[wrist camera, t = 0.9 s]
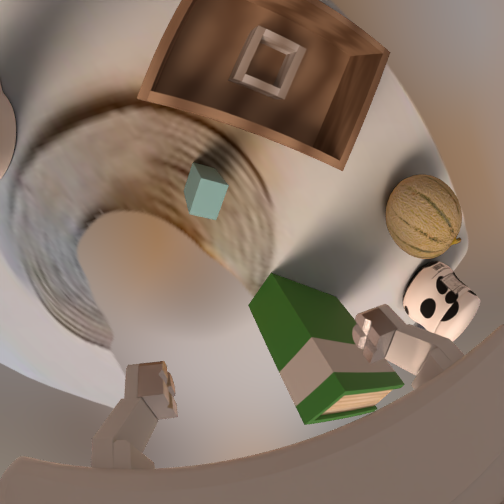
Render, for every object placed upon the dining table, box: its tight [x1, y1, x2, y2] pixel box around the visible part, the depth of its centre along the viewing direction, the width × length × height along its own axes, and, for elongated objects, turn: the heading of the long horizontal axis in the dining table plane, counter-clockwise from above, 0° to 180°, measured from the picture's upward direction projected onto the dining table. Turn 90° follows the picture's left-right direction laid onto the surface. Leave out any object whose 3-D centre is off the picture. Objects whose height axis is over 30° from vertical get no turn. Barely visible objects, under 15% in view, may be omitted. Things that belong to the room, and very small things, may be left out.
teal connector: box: [184, 162, 229, 220], centre depth 31 cm, size 3×4×8 cm
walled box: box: [137, 0, 390, 171], centre depth 25 cm, size 24×18×8 cm
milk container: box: [403, 261, 480, 342], centre depth 57 cm, size 17×17×18 cm
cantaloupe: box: [386, 174, 462, 259], centre depth 40 cm, size 15×15×15 cm
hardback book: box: [249, 273, 404, 425], centre depth 41 cm, size 18×7×24 cm, turn 57°
